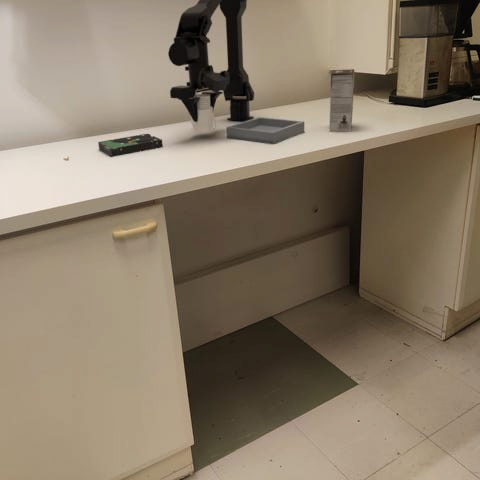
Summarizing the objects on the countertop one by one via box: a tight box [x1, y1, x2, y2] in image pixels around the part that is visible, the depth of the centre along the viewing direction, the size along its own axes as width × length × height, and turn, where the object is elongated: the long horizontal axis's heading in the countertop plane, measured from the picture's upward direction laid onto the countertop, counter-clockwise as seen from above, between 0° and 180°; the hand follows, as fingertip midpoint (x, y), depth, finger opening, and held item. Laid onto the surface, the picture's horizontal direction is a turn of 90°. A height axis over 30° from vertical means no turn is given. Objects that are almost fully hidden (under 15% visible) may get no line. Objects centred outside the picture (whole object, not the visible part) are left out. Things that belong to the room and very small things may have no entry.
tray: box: [226, 116, 305, 145], centre depth 138 cm, size 16×16×3 cm
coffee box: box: [329, 68, 355, 132], centre depth 139 cm, size 9×6×16 cm
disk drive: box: [97, 133, 164, 158], centre depth 131 cm, size 10×3×15 cm
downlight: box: [189, 93, 217, 134], centre depth 137 cm, size 8×7×10 cm
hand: (202, 119), depth 138 cm, fingers closed on downlight, 6 cm apart
